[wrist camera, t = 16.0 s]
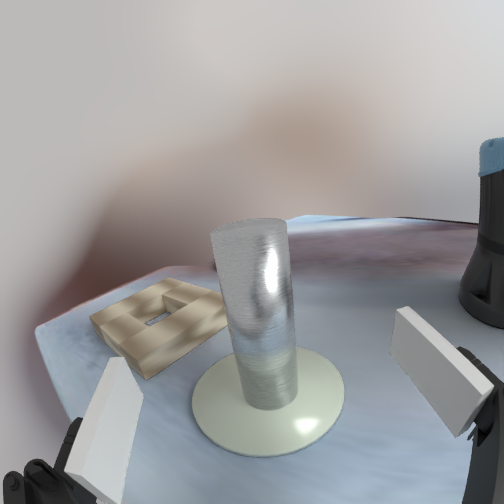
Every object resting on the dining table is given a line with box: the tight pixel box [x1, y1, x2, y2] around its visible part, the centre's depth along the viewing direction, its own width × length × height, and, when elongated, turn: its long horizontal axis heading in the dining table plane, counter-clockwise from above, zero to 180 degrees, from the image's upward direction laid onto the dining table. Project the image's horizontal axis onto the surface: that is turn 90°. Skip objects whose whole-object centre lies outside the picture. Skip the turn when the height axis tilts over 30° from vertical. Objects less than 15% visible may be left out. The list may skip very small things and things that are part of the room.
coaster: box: [192, 346, 344, 458], centre depth 23 cm, size 14×14×1 cm
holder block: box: [89, 278, 228, 380], centre depth 37 cm, size 16×16×3 cm
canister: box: [210, 218, 298, 410], centre depth 20 cm, size 5×5×15 cm
